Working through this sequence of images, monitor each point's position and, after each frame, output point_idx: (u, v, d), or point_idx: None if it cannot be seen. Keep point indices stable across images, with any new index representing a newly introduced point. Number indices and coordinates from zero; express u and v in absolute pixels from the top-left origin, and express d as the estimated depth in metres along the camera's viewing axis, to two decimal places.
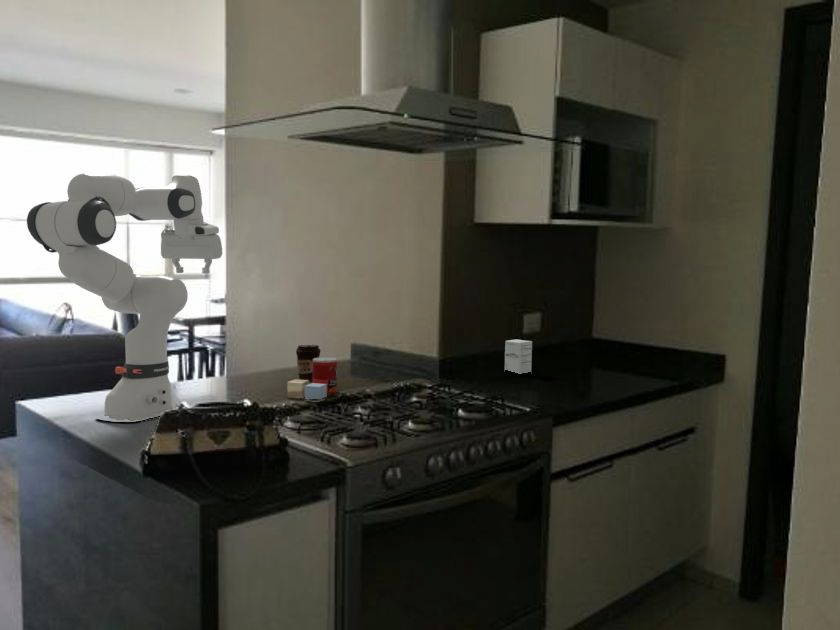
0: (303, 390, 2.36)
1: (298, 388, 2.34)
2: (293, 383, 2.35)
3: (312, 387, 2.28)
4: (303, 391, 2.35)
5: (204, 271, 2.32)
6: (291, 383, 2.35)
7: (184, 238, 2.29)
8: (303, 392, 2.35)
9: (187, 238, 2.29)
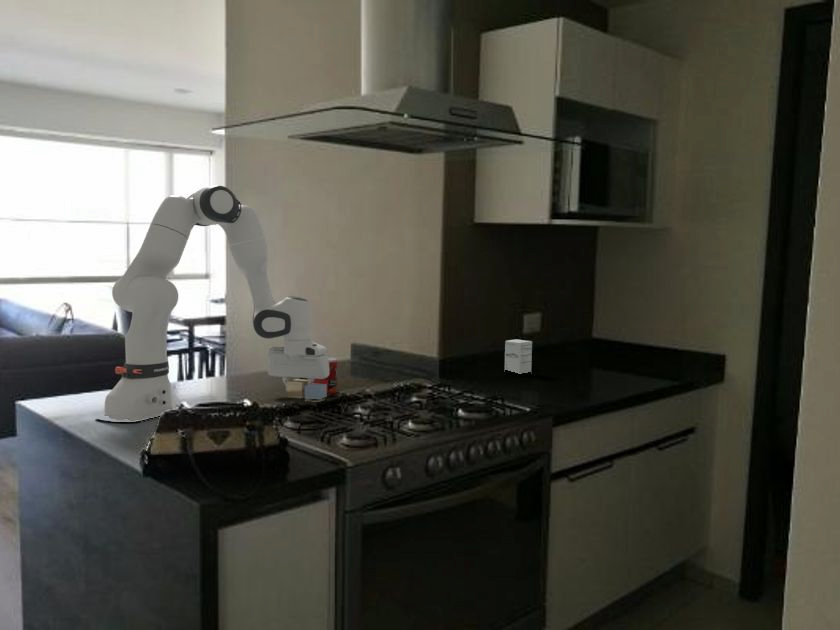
0: (303, 389, 2.35)
1: (298, 388, 2.34)
2: (293, 383, 2.35)
3: (312, 387, 2.28)
4: (303, 391, 2.35)
5: None
6: (291, 383, 2.35)
7: (293, 358, 2.33)
8: (303, 392, 2.35)
9: (296, 358, 2.33)
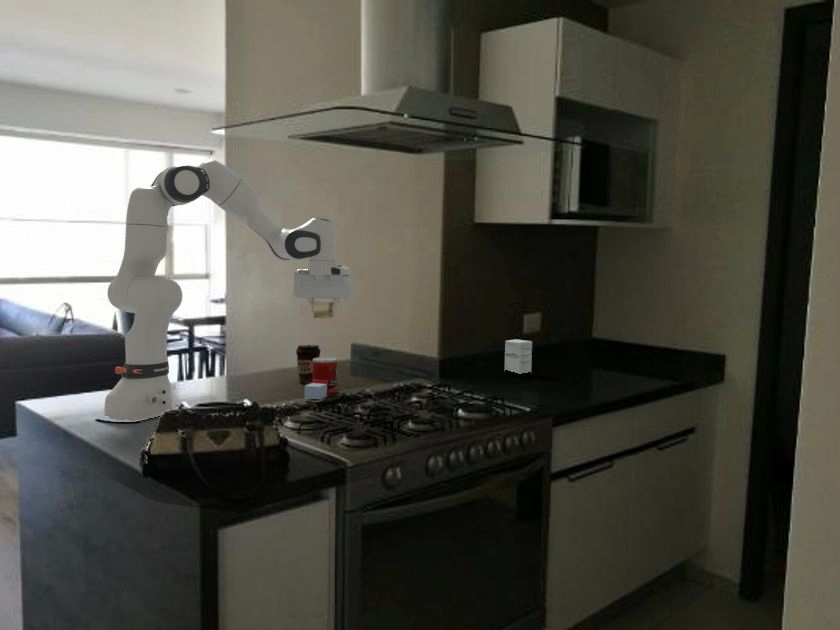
0: (329, 309, 2.40)
1: (324, 308, 2.39)
2: (319, 303, 2.39)
3: (312, 387, 2.28)
4: (329, 311, 2.40)
5: (332, 310, 2.40)
6: (317, 303, 2.40)
7: (319, 278, 2.38)
8: (328, 312, 2.40)
9: (322, 278, 2.38)
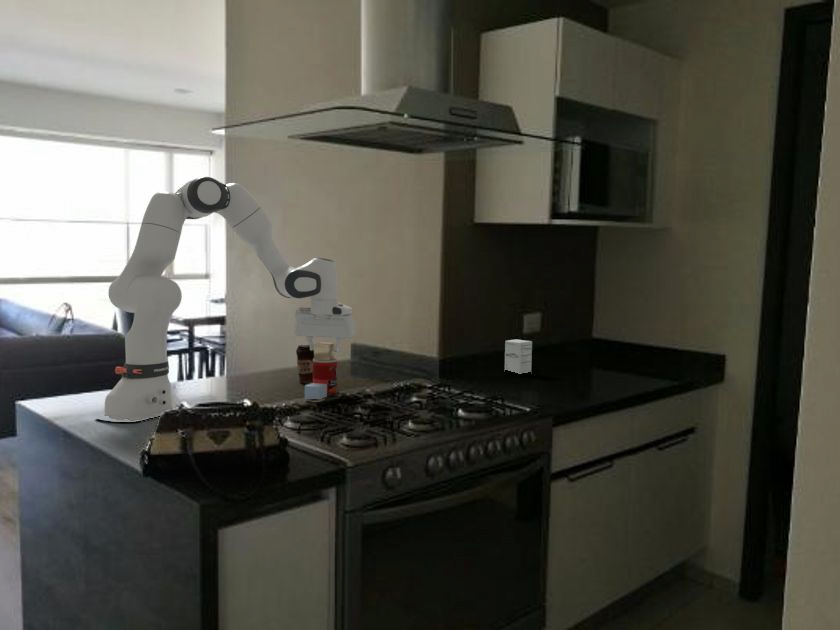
0: (330, 351, 2.41)
1: (325, 350, 2.40)
2: (319, 345, 2.41)
3: (312, 387, 2.28)
4: (329, 353, 2.41)
5: (335, 349, 2.41)
6: (317, 345, 2.41)
7: (320, 317, 2.39)
8: (329, 354, 2.41)
9: (323, 317, 2.39)
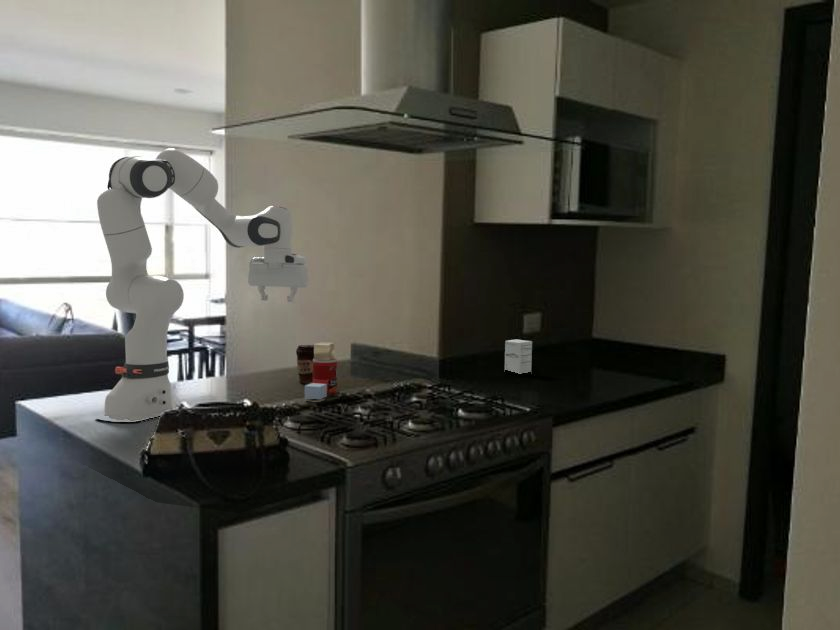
0: (330, 352, 2.41)
1: (325, 350, 2.40)
2: (319, 345, 2.41)
3: (312, 387, 2.28)
4: (329, 353, 2.41)
5: (289, 299, 2.39)
6: (317, 345, 2.41)
7: (273, 266, 2.38)
8: (329, 354, 2.41)
9: (276, 266, 2.38)
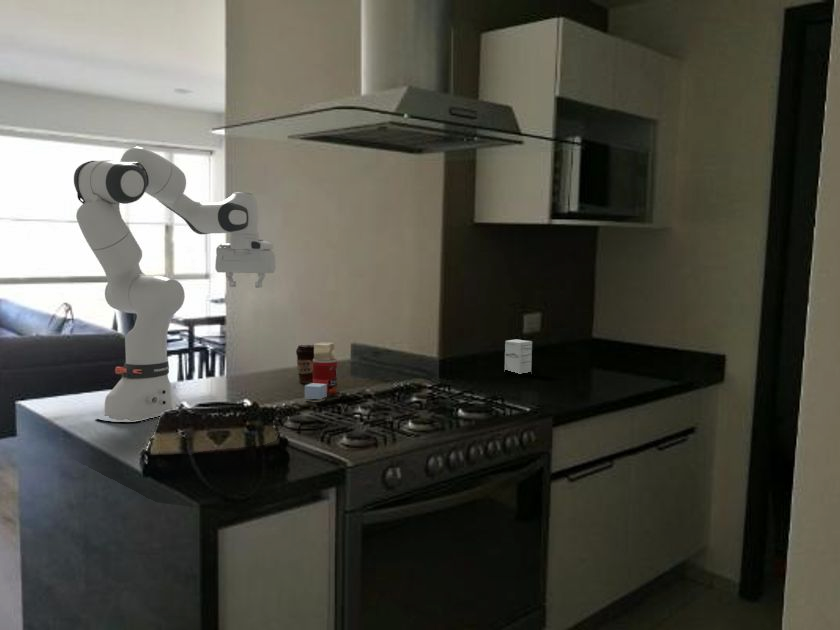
0: (330, 352, 2.41)
1: (325, 350, 2.40)
2: (319, 345, 2.41)
3: (312, 387, 2.28)
4: (329, 353, 2.41)
5: (257, 285, 2.39)
6: (317, 345, 2.41)
7: (240, 252, 2.37)
8: (329, 354, 2.41)
9: (243, 252, 2.37)
